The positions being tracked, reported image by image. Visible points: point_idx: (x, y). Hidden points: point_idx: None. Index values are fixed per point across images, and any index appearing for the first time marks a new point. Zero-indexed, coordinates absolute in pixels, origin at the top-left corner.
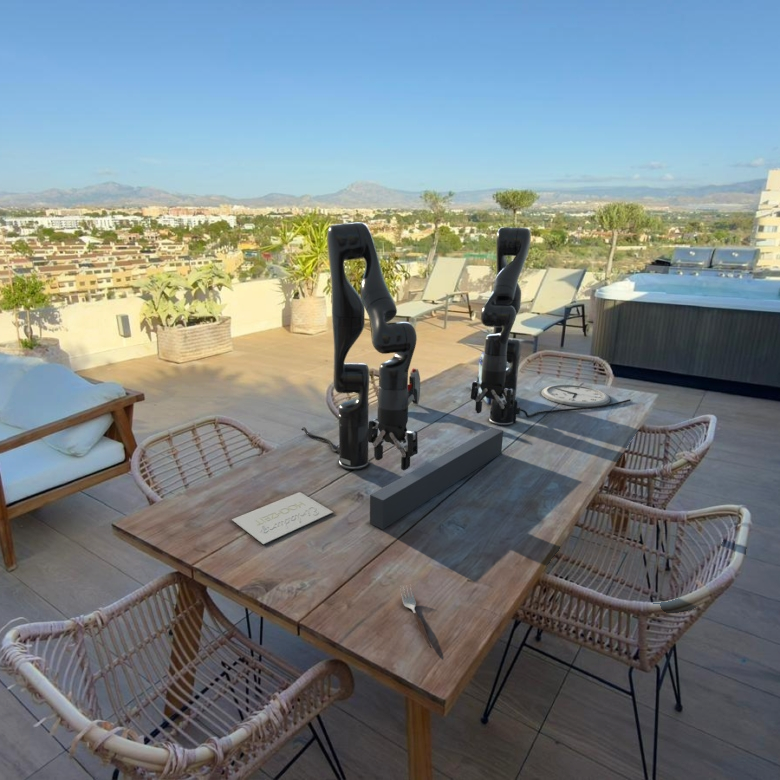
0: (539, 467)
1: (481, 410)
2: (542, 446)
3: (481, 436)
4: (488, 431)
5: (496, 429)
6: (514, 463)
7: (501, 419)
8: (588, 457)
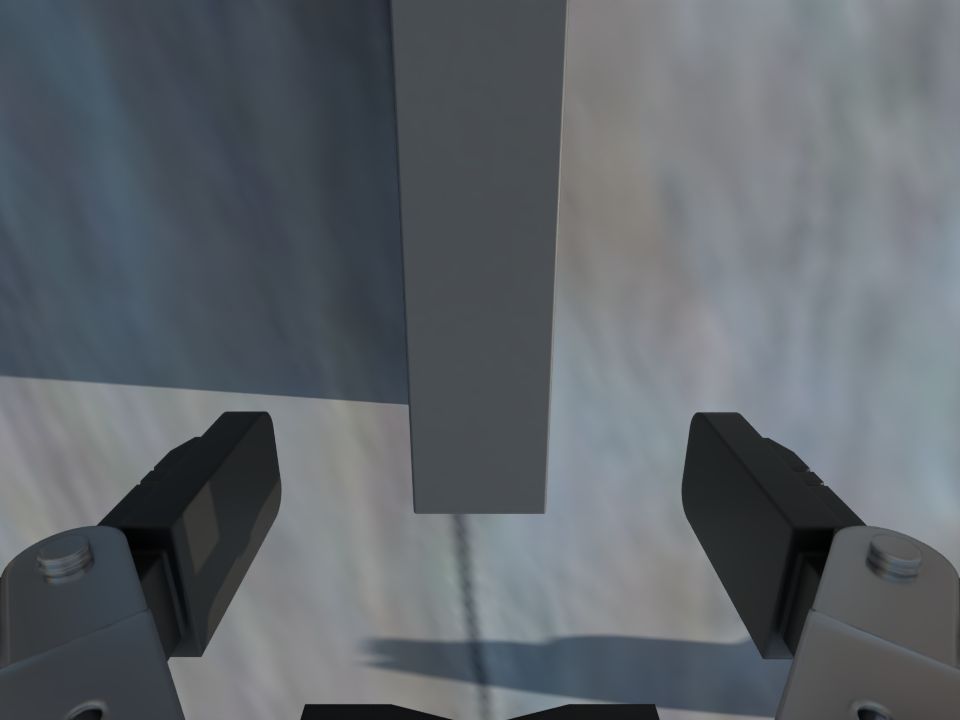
0: (113, 375)
1: (689, 518)
2: (296, 655)
3: (505, 220)
4: (519, 402)
5: (483, 499)
6: (270, 318)
7: (235, 413)
8: None
